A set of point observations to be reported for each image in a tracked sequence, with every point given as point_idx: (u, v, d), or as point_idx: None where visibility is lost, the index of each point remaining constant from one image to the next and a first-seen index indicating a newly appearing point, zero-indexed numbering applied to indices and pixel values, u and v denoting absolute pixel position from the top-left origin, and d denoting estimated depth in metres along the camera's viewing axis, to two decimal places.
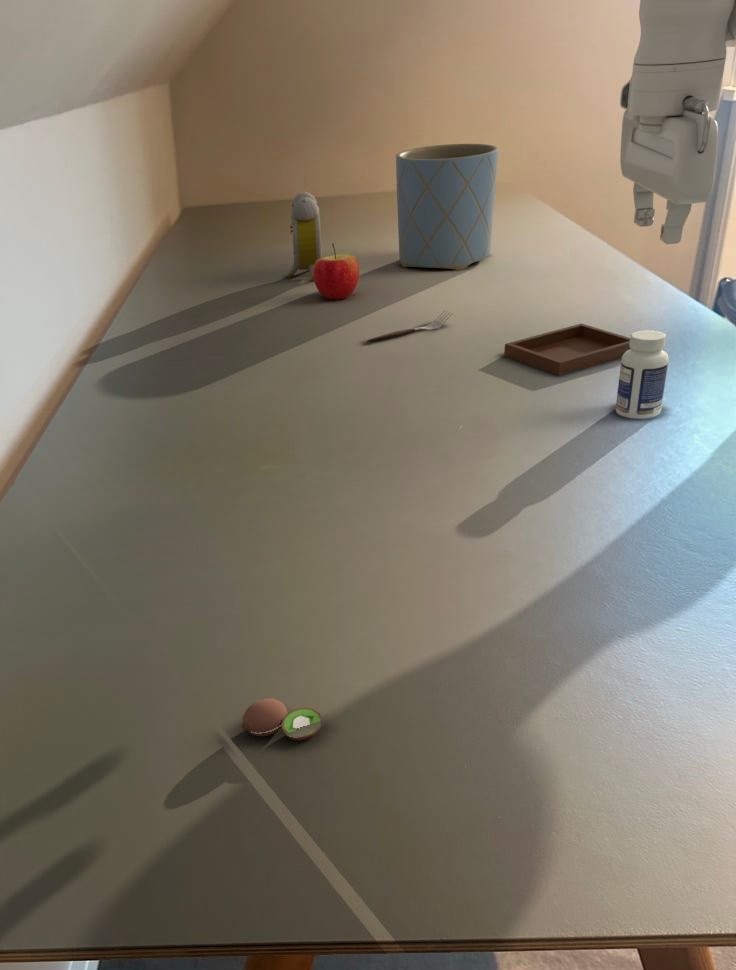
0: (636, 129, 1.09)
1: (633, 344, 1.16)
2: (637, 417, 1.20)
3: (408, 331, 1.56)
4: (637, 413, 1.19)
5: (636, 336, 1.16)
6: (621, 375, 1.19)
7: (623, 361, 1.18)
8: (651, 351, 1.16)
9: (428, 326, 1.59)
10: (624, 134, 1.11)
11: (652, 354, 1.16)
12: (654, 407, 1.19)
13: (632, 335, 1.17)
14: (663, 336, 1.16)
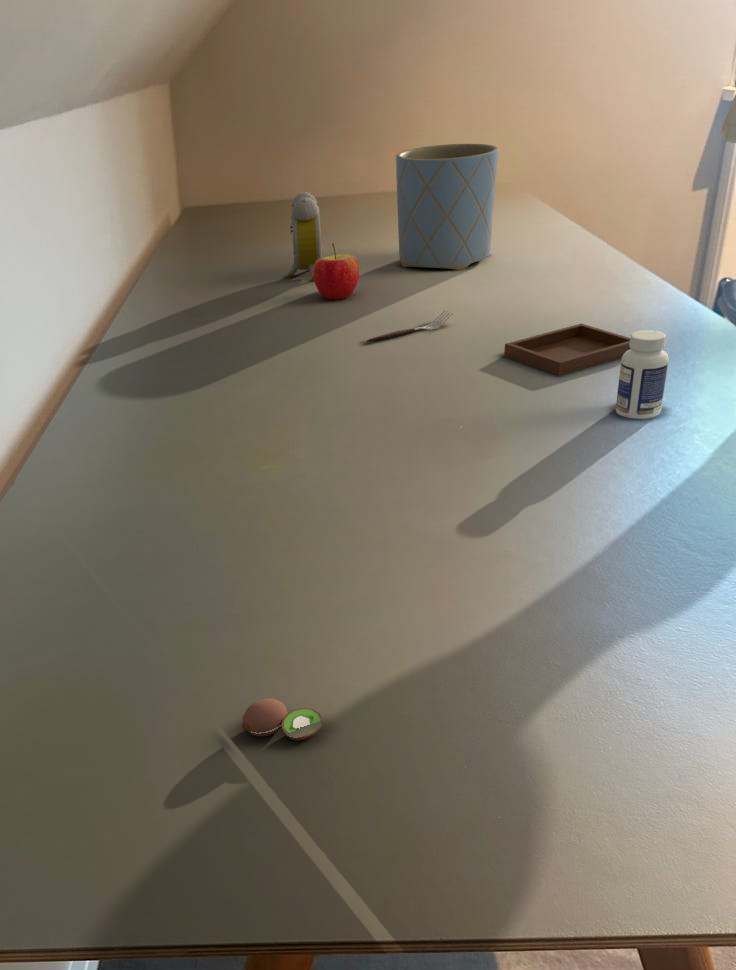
0: None
1: (633, 344, 1.16)
2: (637, 417, 1.20)
3: (408, 331, 1.56)
4: (637, 413, 1.19)
5: (636, 336, 1.16)
6: (621, 375, 1.19)
7: (623, 361, 1.18)
8: (651, 351, 1.16)
9: (428, 326, 1.59)
10: None
11: (652, 354, 1.16)
12: (654, 407, 1.19)
13: (632, 335, 1.17)
14: (663, 336, 1.16)
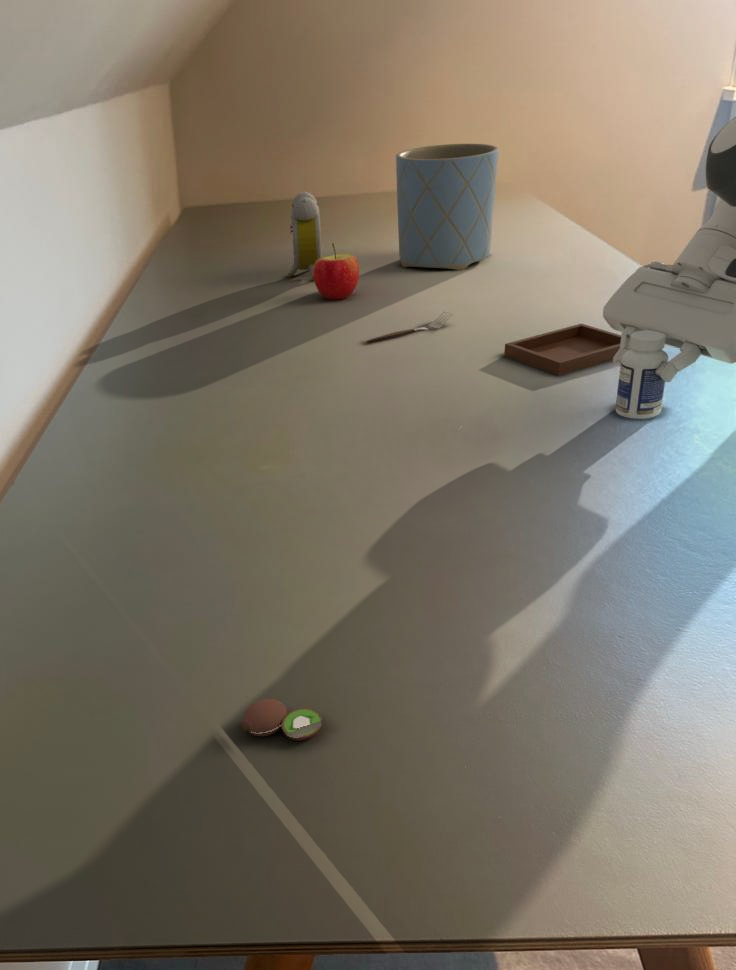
0: None
1: (633, 344, 1.16)
2: (637, 417, 1.20)
3: (408, 331, 1.56)
4: (637, 413, 1.19)
5: (636, 336, 1.16)
6: (621, 375, 1.19)
7: (623, 361, 1.18)
8: (651, 351, 1.16)
9: (429, 325, 1.59)
10: None
11: (652, 354, 1.16)
12: (654, 407, 1.19)
13: (632, 335, 1.17)
14: (663, 336, 1.16)
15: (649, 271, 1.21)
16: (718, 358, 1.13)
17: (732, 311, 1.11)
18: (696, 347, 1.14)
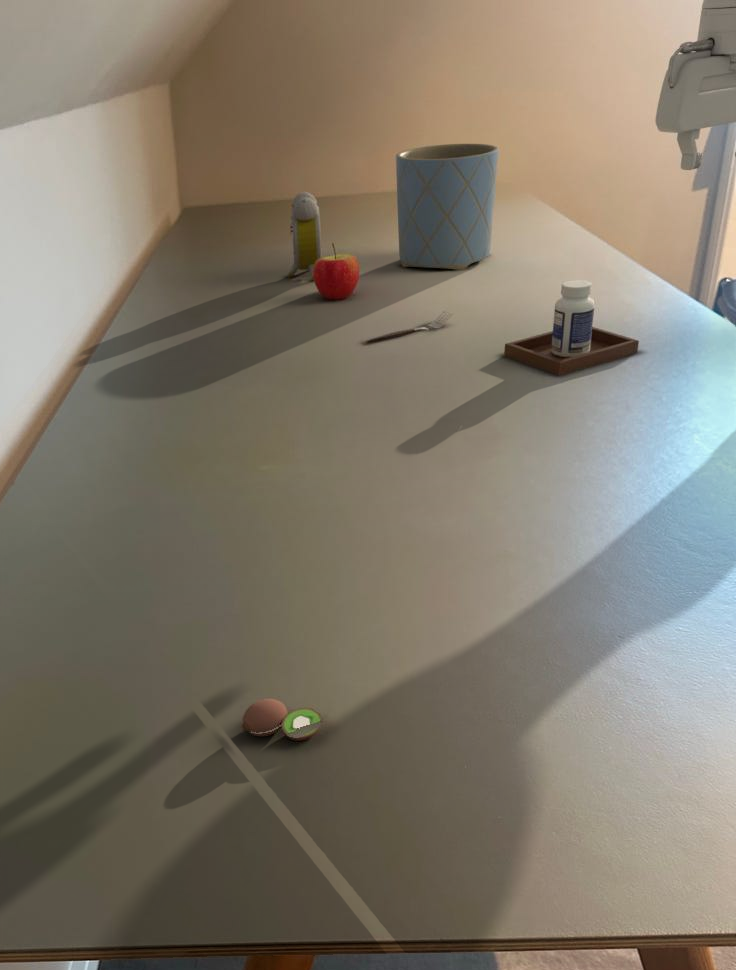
0: None
1: (564, 291, 1.36)
2: (569, 355, 1.39)
3: (408, 331, 1.56)
4: (568, 352, 1.39)
5: (566, 285, 1.36)
6: (555, 319, 1.38)
7: (556, 307, 1.37)
8: (579, 297, 1.35)
9: (428, 325, 1.59)
10: None
11: (580, 300, 1.35)
12: (583, 347, 1.38)
13: (563, 284, 1.36)
14: (589, 284, 1.35)
15: (704, 63, 1.12)
16: None
17: None
18: None
